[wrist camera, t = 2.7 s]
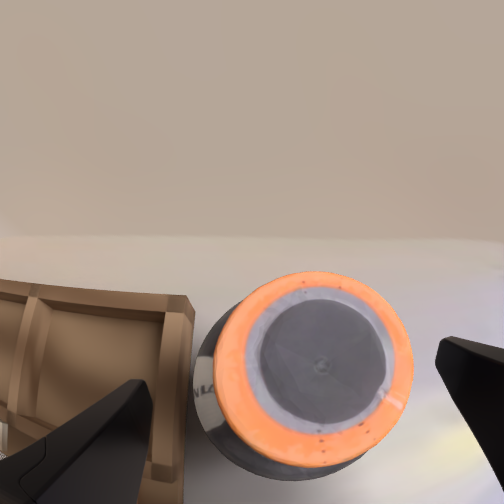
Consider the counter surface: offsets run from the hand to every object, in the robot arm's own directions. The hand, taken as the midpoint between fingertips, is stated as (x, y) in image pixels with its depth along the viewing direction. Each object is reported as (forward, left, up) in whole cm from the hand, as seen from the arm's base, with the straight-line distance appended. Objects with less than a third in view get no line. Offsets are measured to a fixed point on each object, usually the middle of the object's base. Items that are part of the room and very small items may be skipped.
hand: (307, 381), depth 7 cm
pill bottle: (0, 0, -8) cm, 9 cm away
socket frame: (-1, +16, -8) cm, 18 cm away
